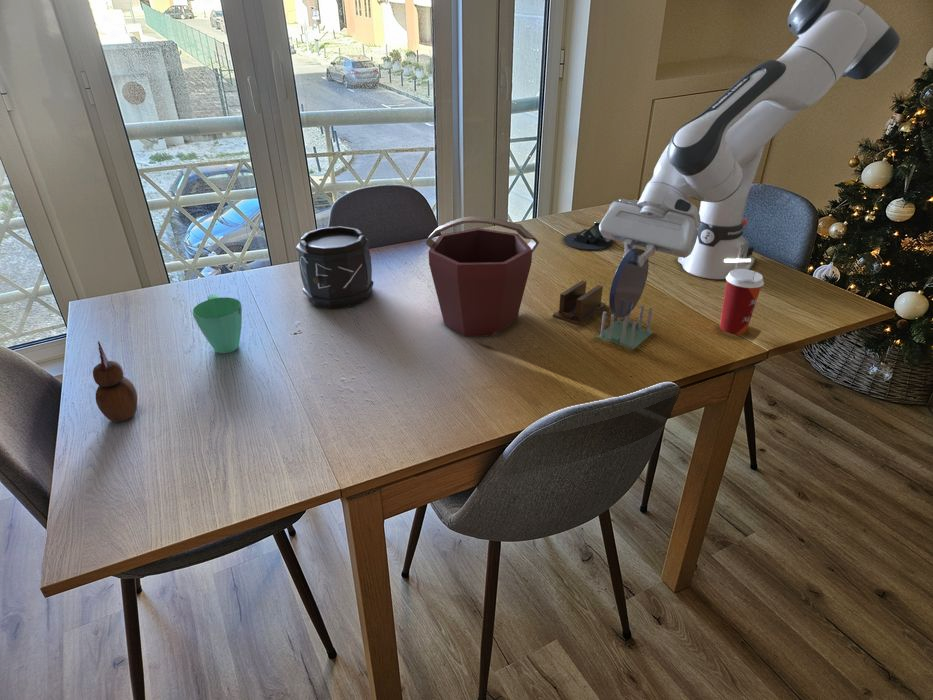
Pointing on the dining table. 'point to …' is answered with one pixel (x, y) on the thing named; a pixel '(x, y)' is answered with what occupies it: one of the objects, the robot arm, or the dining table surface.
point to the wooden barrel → (335, 266)
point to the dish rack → (626, 330)
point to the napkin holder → (579, 303)
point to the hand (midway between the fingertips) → (631, 263)
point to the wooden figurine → (114, 390)
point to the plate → (628, 284)
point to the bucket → (480, 274)
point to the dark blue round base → (588, 239)
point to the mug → (220, 322)
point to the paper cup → (740, 300)
